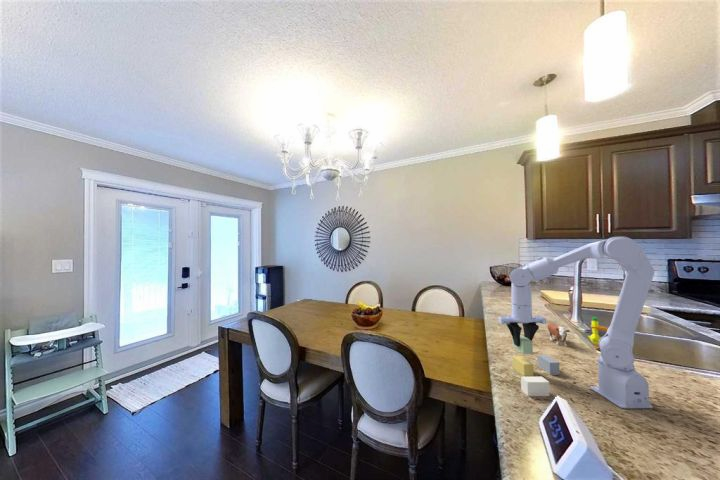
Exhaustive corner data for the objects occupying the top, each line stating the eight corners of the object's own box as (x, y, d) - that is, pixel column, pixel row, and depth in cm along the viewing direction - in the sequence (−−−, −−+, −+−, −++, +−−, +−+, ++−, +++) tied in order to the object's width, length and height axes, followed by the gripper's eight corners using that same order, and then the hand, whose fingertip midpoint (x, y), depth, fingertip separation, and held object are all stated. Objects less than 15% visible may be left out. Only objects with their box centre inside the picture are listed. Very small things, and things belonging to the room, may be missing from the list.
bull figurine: (559, 349, 102) (559, 328, 102) (546, 337, 115) (545, 319, 115) (572, 350, 101) (572, 329, 101) (557, 338, 114) (557, 319, 114)
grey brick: (559, 374, 83) (559, 362, 83) (550, 375, 83) (549, 362, 83) (546, 366, 89) (546, 354, 89) (537, 366, 89) (537, 354, 89)
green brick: (532, 353, 82) (532, 341, 82) (523, 353, 82) (523, 341, 82) (521, 346, 88) (520, 334, 88) (512, 346, 88) (512, 334, 88)
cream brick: (542, 390, 75) (541, 376, 75) (549, 396, 72) (549, 382, 72) (521, 390, 75) (520, 376, 75) (527, 396, 72) (527, 382, 72)
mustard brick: (533, 376, 82) (533, 364, 82) (524, 376, 82) (523, 364, 82) (521, 367, 88) (521, 355, 88) (513, 367, 88) (512, 356, 88)
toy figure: (610, 349, 102) (609, 318, 102) (609, 351, 99) (608, 320, 99) (587, 344, 106) (586, 315, 107) (586, 347, 104) (585, 317, 104)
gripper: (535, 301, 89) (536, 340, 89) (493, 301, 90) (494, 340, 89) (550, 306, 82) (551, 348, 82) (504, 306, 83) (505, 349, 82)
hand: (522, 345), depth 85 cm, fingers closed on green brick, 3 cm apart
